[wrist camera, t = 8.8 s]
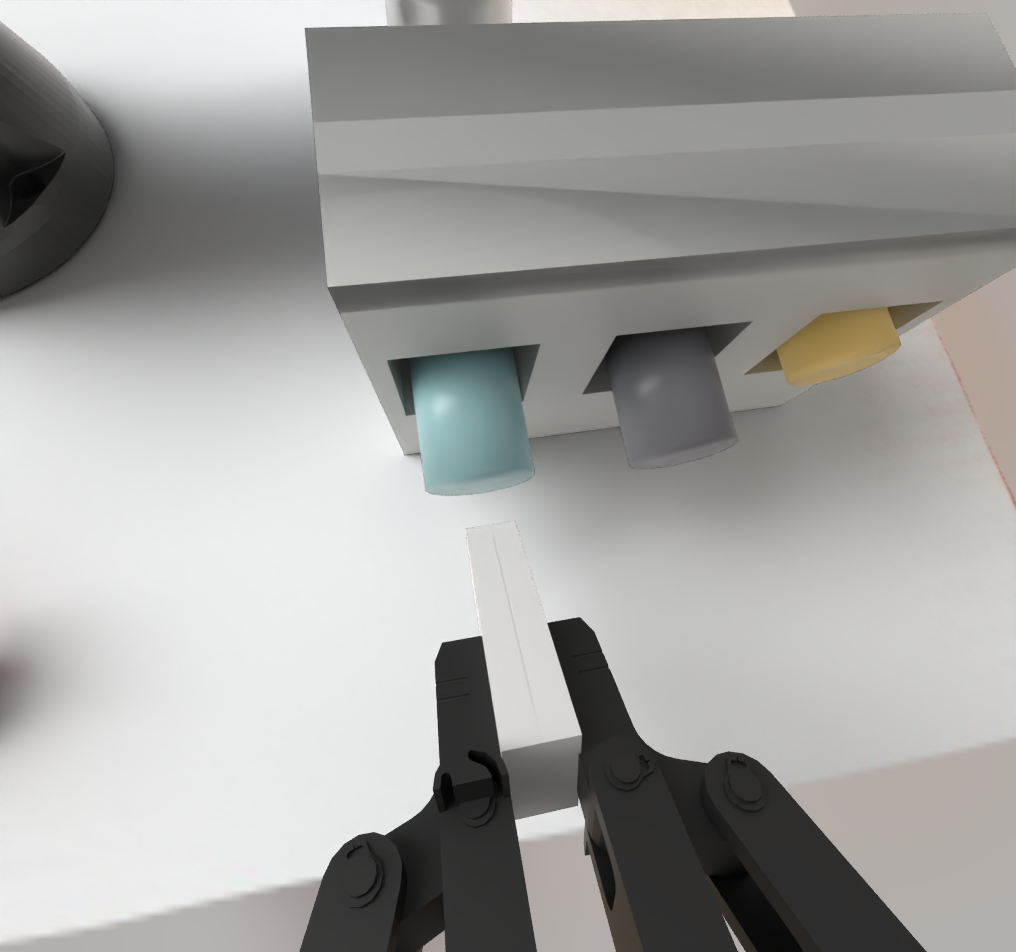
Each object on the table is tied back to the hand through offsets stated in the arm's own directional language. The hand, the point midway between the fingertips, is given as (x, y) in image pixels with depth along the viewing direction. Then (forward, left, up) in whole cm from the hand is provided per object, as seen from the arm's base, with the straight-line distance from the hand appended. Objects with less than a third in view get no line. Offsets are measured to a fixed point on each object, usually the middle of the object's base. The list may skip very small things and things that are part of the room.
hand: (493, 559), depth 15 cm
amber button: (+15, +4, -2) cm, 16 cm away
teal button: (+1, +5, -2) cm, 5 cm away
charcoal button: (+8, +3, -2) cm, 9 cm away
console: (+9, +7, -7) cm, 14 cm away
